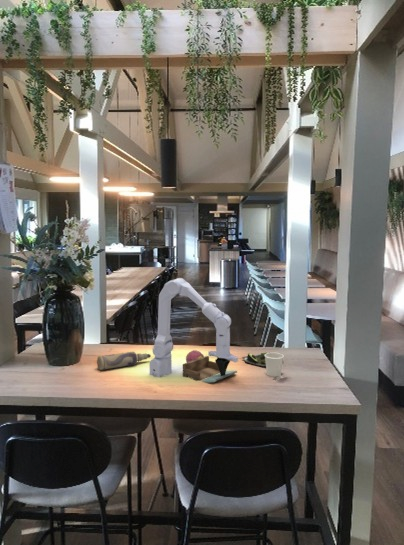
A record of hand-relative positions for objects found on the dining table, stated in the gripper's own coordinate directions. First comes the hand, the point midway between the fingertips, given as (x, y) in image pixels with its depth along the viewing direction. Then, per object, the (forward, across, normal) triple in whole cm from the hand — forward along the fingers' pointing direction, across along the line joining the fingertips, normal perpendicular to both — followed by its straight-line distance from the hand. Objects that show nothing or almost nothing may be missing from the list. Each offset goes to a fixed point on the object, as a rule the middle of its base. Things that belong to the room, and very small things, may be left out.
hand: (222, 375), depth 184 cm
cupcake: (+1, +24, -8) cm, 26 cm away
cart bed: (+3, +11, 0) cm, 11 cm away
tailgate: (+2, +6, 0) cm, 6 cm away
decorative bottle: (+3, +49, +14) cm, 51 cm away
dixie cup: (+3, -13, -19) cm, 23 cm away
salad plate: (+4, +3, -34) cm, 34 cm away
